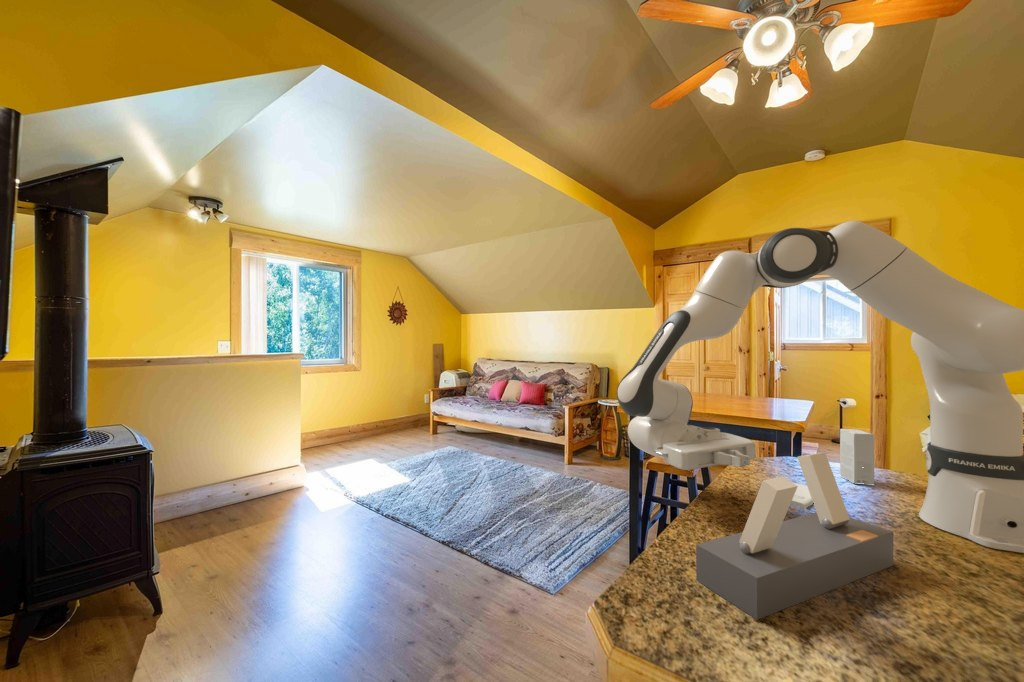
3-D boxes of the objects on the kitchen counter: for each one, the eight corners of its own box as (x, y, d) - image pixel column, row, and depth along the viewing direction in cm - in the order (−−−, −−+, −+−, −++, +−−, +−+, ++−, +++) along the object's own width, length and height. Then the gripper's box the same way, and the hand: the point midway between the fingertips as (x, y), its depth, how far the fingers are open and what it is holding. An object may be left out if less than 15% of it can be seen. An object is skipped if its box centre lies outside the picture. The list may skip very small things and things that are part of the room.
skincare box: (875, 486, 95) (875, 434, 95) (854, 485, 96) (853, 433, 96) (859, 477, 101) (858, 429, 101) (839, 476, 102) (838, 428, 102)
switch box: (696, 580, 58) (696, 543, 58) (826, 539, 70) (826, 508, 70) (757, 619, 49) (756, 576, 49) (893, 565, 61) (893, 530, 62)
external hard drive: (827, 498, 90) (804, 511, 83) (785, 487, 96) (760, 499, 89) (827, 490, 90) (804, 503, 83) (785, 480, 96) (760, 491, 89)
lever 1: (736, 546, 56) (761, 480, 53) (758, 540, 58) (784, 476, 55) (749, 558, 54) (776, 490, 51) (771, 551, 56) (798, 485, 53)
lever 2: (821, 528, 63) (796, 456, 66) (838, 523, 65) (813, 453, 68) (835, 529, 61) (808, 455, 65) (852, 524, 63) (825, 452, 66)
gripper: (649, 435, 86) (704, 451, 73) (719, 426, 94) (780, 439, 81) (649, 465, 86) (704, 486, 73) (719, 454, 94) (780, 471, 81)
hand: (745, 462), depth 77 cm, fingers closed
